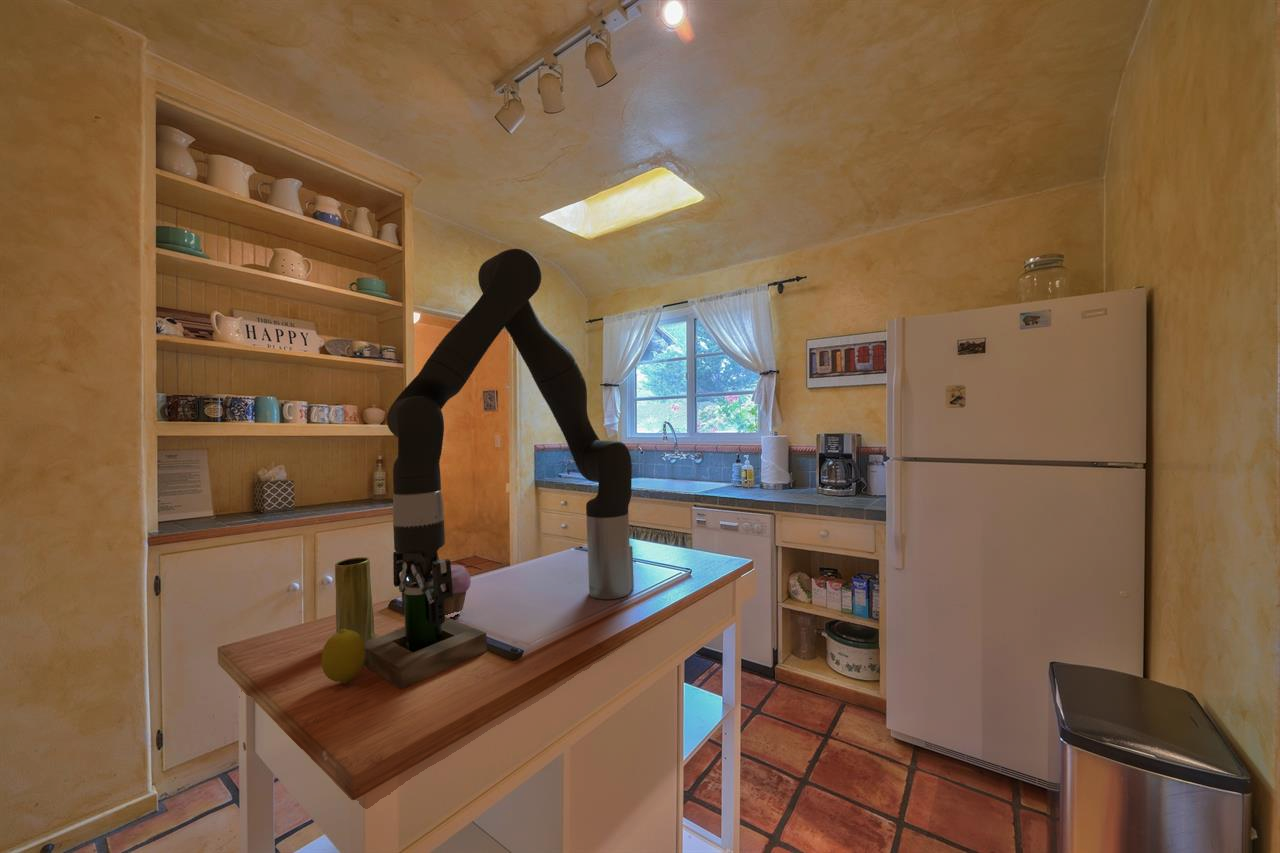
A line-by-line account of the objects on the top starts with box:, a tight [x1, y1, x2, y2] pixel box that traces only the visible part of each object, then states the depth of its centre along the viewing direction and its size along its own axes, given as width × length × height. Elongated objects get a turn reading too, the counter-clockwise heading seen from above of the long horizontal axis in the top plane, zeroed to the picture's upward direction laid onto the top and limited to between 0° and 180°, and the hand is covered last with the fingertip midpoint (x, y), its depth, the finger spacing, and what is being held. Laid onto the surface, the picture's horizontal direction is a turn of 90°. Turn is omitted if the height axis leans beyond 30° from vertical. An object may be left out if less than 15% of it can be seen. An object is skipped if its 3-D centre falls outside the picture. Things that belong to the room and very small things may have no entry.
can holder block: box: [363, 617, 488, 690], centre depth 78 cm, size 14×14×3 cm
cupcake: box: [443, 564, 472, 615], centre depth 96 cm, size 9×9×10 cm
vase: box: [334, 556, 376, 642], centre depth 85 cm, size 6×6×14 cm
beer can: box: [404, 580, 442, 652], centre depth 78 cm, size 5×5×12 cm
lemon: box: [321, 629, 366, 685], centre depth 71 cm, size 6×6×8 cm
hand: (423, 618), depth 78 cm, fingers open, 8 cm apart
